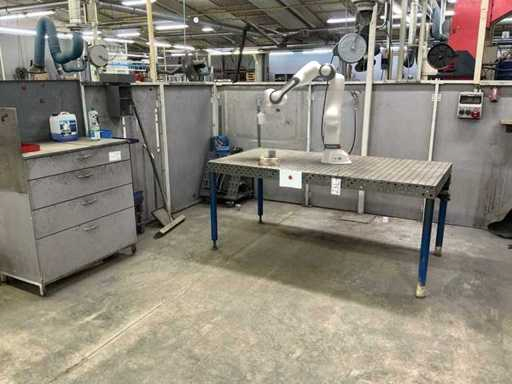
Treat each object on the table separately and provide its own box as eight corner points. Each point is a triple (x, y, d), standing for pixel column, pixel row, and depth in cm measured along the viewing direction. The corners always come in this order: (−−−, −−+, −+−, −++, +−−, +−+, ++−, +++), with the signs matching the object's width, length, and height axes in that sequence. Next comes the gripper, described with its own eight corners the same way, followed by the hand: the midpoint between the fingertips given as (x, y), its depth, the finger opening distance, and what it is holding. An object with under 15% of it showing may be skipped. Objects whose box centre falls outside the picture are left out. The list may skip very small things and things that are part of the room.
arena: (279, 162, 296) (280, 155, 295) (279, 165, 283) (279, 158, 281) (261, 162, 297) (261, 155, 296) (259, 165, 284) (259, 158, 283)
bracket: (274, 162, 295) (274, 150, 293) (277, 164, 288) (277, 151, 286) (268, 162, 294) (268, 150, 292) (270, 164, 287) (271, 151, 285)
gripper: (256, 112, 300) (258, 130, 301) (283, 109, 299) (285, 127, 300) (256, 112, 306) (258, 130, 307) (283, 110, 305) (285, 128, 306)
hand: (272, 129), depth 303 cm, fingers open, 8 cm apart
